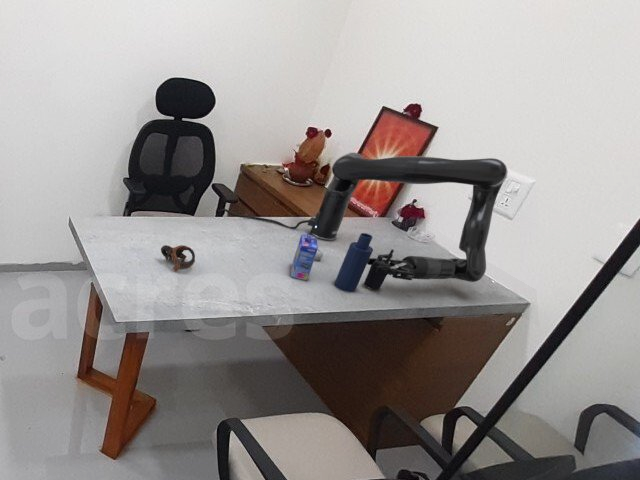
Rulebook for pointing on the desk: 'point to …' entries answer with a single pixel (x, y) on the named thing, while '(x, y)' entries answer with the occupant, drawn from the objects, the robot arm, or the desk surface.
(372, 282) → the two-way radio
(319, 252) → the smooth white sculpture
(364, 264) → the bottle
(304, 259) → the ink cartridge box
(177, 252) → the brown curled piece
